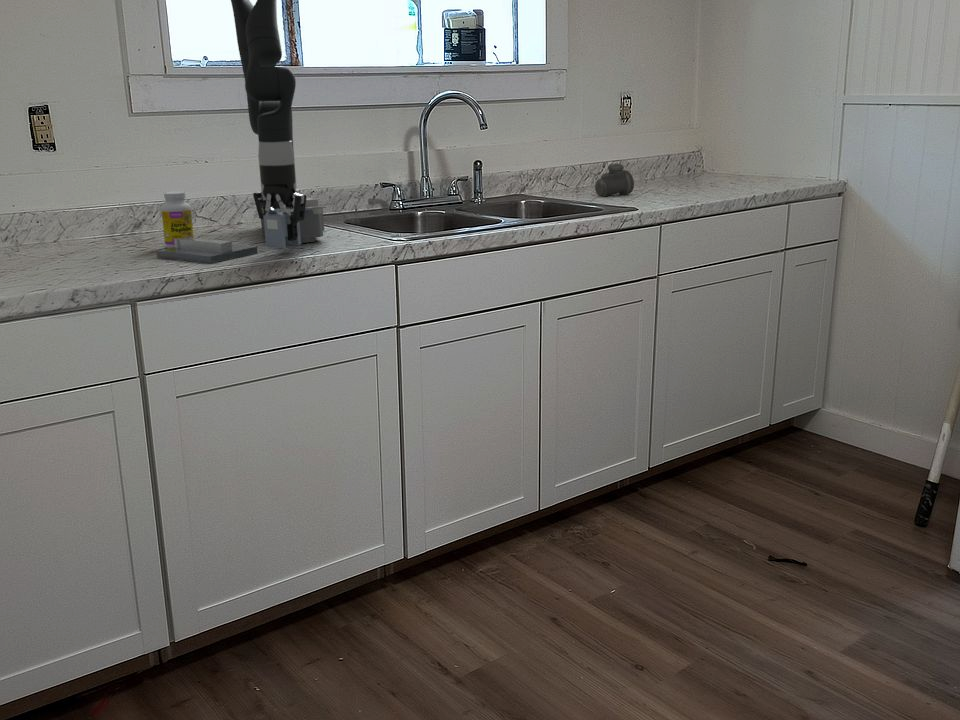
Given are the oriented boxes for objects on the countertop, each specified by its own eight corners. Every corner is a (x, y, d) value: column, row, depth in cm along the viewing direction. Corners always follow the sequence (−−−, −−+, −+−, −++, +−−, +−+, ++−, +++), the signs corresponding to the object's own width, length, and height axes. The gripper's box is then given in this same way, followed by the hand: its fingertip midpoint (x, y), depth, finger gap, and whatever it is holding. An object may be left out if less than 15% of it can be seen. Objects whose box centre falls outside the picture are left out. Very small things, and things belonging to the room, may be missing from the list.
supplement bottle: (169, 250, 214) (163, 194, 210) (162, 246, 219) (155, 192, 216) (198, 247, 218) (192, 192, 214) (190, 243, 223) (184, 190, 219)
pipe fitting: (619, 191, 309) (619, 161, 305) (635, 195, 303) (635, 164, 299) (591, 198, 304) (590, 167, 300) (606, 202, 298) (605, 171, 293)
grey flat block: (204, 247, 217) (202, 232, 216) (257, 253, 209) (256, 237, 208) (156, 257, 206) (155, 241, 205) (211, 263, 197) (209, 247, 196)
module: (284, 242, 211) (281, 211, 209) (301, 244, 208) (298, 213, 206) (265, 246, 206) (263, 215, 204) (282, 248, 203) (279, 216, 201)
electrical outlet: (288, 246, 213) (283, 203, 211) (254, 238, 237) (250, 199, 235) (336, 241, 218) (332, 199, 216) (298, 234, 243) (294, 196, 241)
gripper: (313, 161, 201) (318, 239, 206) (264, 159, 208) (270, 234, 213) (289, 165, 195) (296, 244, 200) (240, 162, 202) (247, 239, 207)
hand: (283, 239), depth 207 cm, fingers closed on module, 5 cm apart
